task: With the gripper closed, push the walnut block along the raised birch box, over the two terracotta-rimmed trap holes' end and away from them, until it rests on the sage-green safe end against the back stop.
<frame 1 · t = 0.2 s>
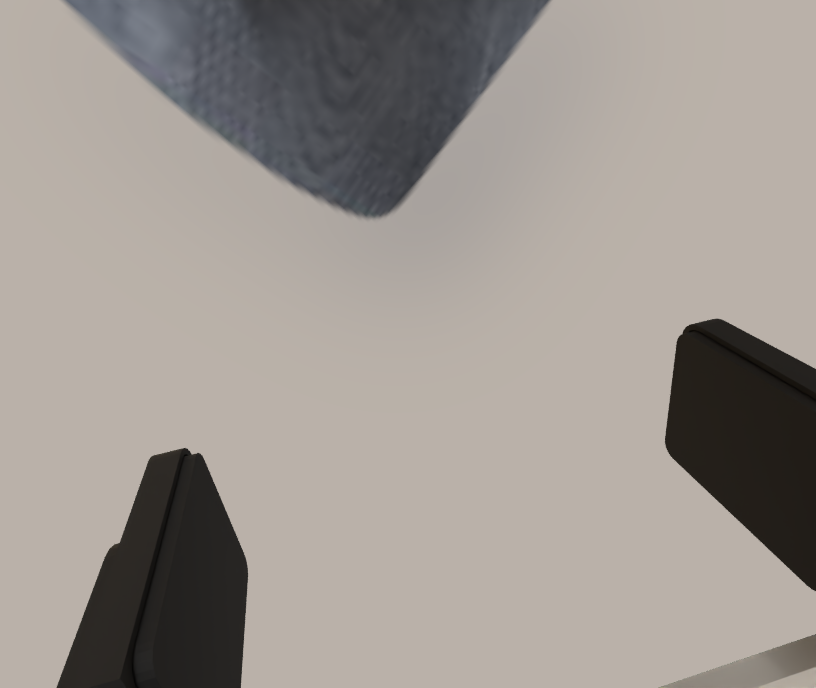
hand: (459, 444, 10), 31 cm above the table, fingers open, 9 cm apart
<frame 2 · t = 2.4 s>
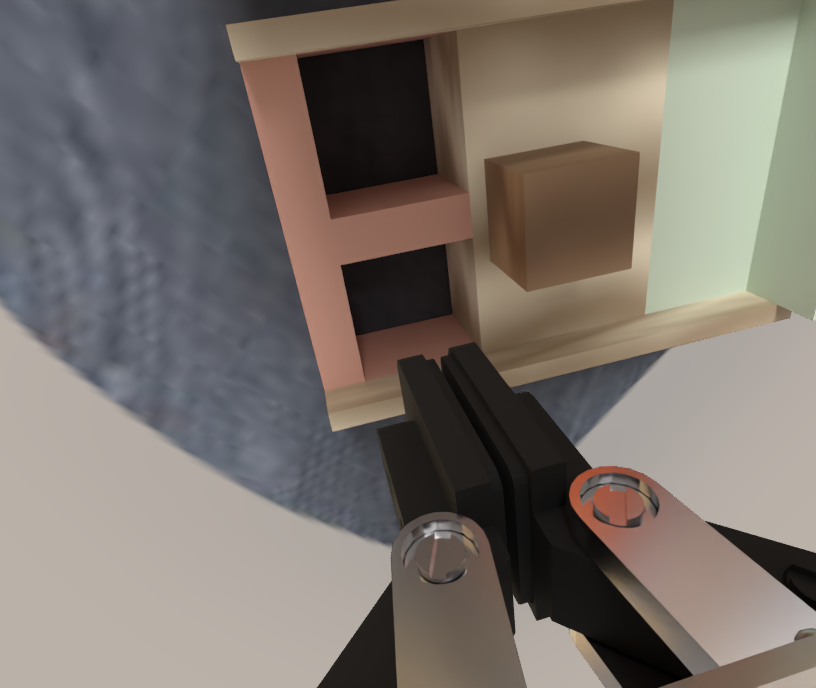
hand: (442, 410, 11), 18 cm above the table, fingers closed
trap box: (512, 179, 27), on the table
walnut block: (535, 202, 23), point 5 cm above the table, touching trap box
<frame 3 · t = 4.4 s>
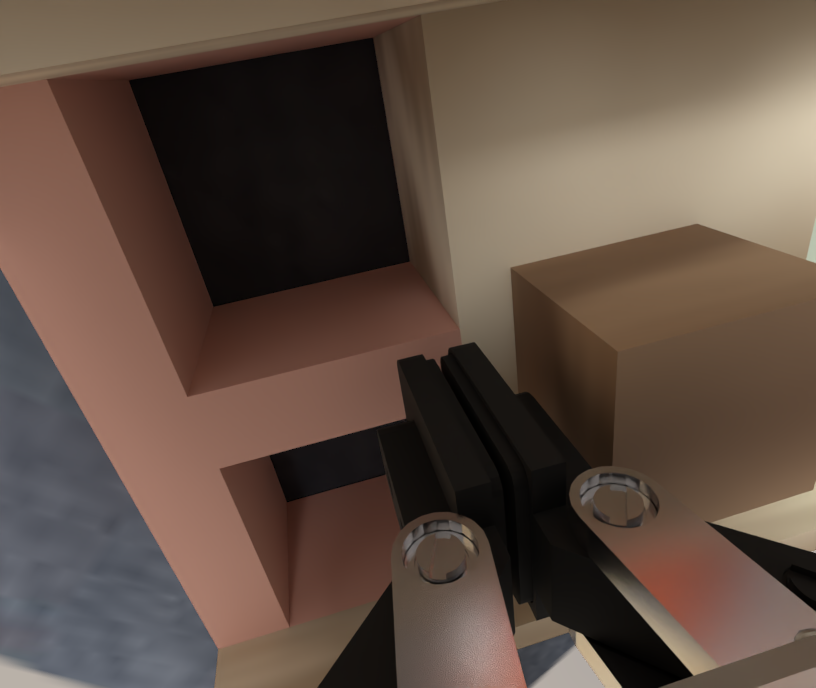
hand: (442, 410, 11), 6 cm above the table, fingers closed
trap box: (532, 263, 17), on the table
walnut block: (603, 334, 12), point 5 cm above the table, touching gripper, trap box
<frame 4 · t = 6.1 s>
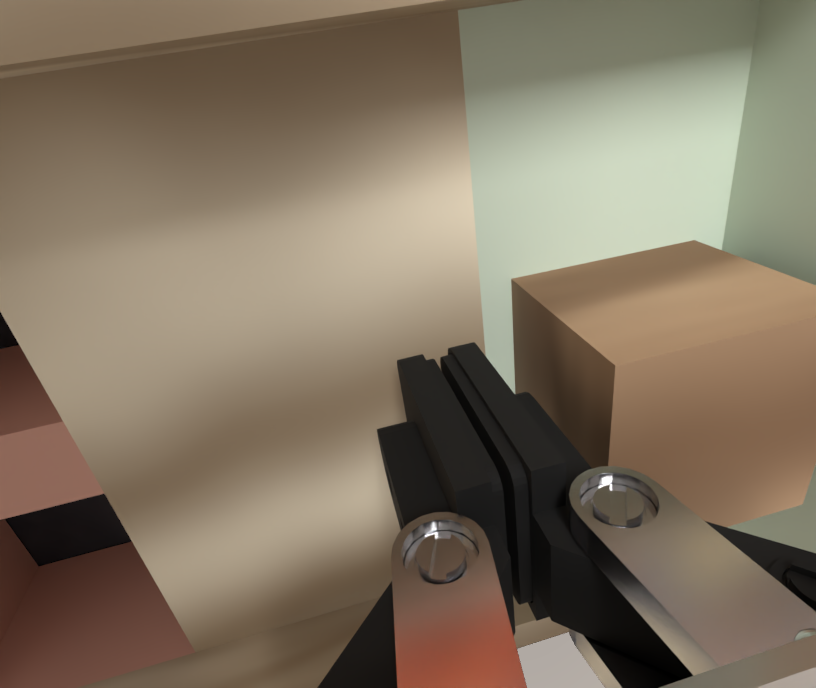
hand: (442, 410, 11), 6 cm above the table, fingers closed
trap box: (274, 322, 16), on the table
walnut block: (600, 345, 13), point 5 cm above the table, touching gripper, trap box
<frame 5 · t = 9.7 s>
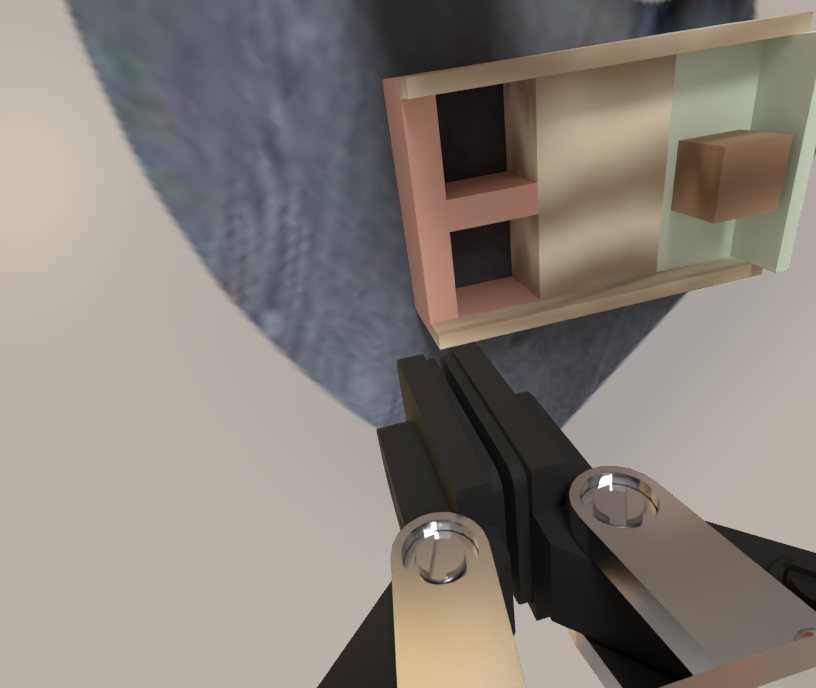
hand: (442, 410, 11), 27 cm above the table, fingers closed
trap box: (559, 175, 38), on the table
walnut block: (704, 170, 35), point 5 cm above the table, touching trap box
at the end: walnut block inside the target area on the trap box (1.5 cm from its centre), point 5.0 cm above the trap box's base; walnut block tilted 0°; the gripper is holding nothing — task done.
